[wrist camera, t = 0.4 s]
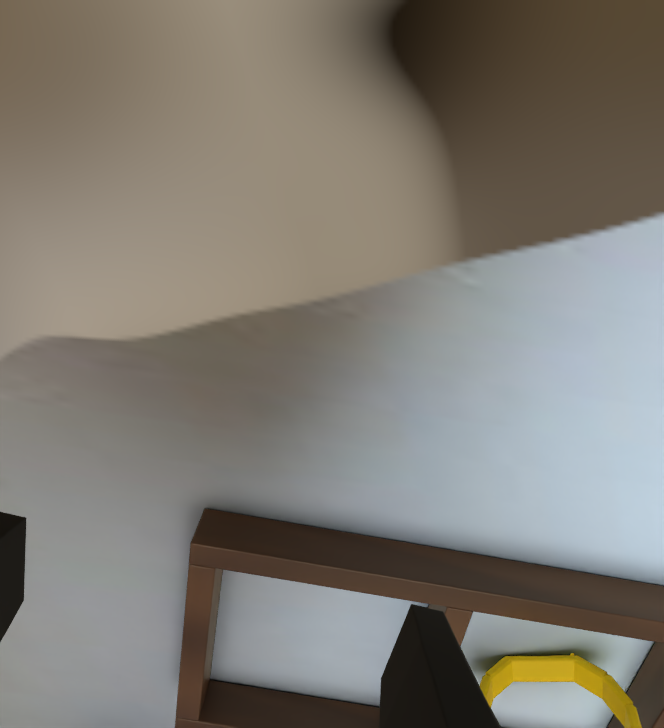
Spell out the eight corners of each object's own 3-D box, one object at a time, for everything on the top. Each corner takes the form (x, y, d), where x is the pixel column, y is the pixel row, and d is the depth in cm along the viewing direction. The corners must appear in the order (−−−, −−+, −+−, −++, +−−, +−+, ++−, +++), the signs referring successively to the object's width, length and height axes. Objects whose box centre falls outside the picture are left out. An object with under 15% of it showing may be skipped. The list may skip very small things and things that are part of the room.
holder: (611, 759, 27) (629, 806, 25) (187, 690, 26) (174, 732, 25) (708, 593, 23) (739, 635, 21) (204, 507, 22) (190, 543, 20)
